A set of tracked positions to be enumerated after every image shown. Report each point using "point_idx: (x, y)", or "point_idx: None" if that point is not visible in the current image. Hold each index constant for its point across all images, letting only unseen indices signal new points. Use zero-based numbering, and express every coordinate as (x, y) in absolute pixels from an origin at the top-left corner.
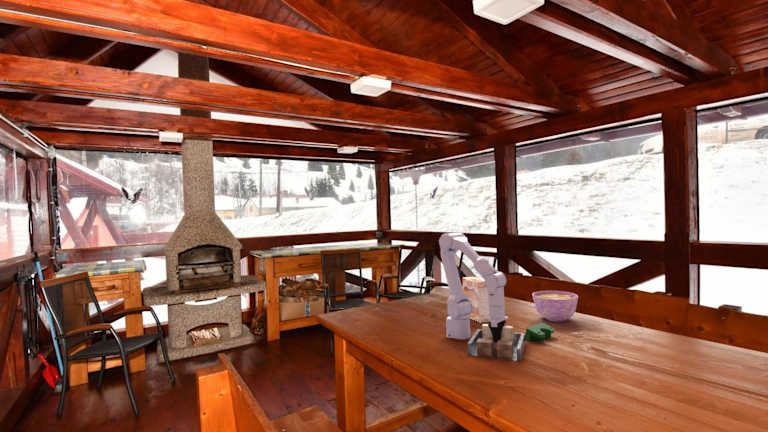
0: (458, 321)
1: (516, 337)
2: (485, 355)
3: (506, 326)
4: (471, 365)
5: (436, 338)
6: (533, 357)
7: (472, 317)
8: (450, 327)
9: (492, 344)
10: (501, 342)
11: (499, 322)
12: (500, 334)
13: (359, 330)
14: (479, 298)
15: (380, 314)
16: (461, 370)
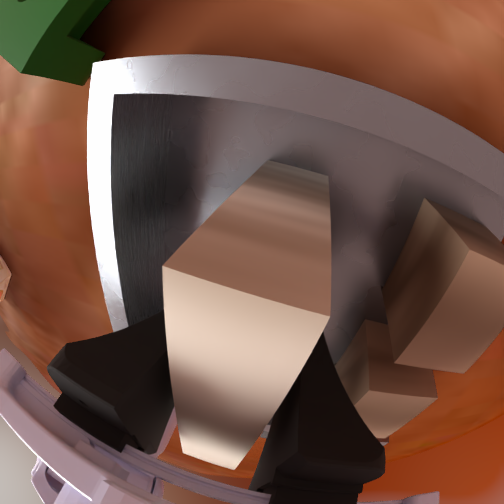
0: (156, 456)
1: (137, 138)
2: None
3: (209, 370)
4: (457, 381)
5: None
6: (411, 42)
7: (3, 290)
8: (166, 438)
9: (379, 364)
10: (455, 346)
11: (143, 421)
12: (336, 373)
13: (191, 467)
14: None
15: None
16: (475, 397)
